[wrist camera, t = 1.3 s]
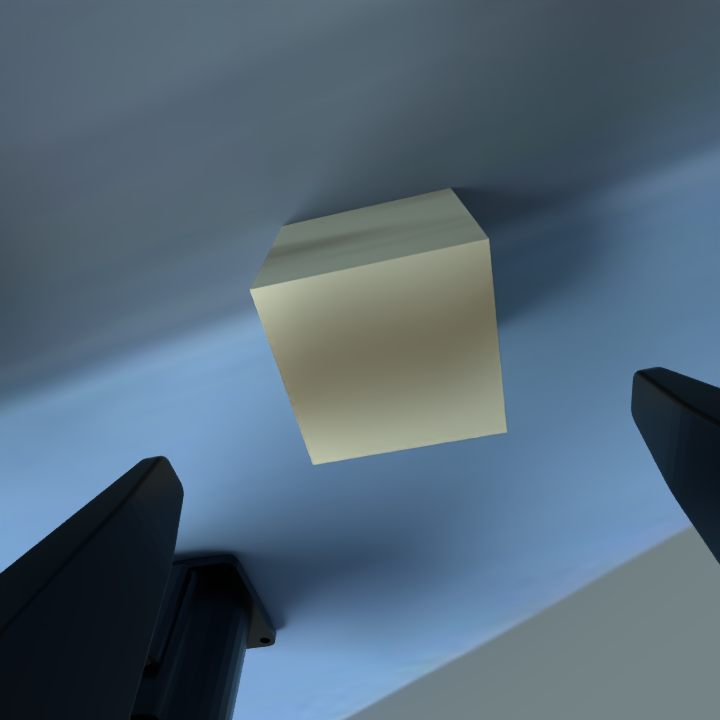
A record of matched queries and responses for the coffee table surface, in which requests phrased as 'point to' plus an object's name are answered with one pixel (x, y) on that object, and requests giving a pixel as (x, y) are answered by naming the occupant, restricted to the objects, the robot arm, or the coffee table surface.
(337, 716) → the coffee table surface
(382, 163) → the coffee table surface
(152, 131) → the coffee table surface
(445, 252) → the birch cube
